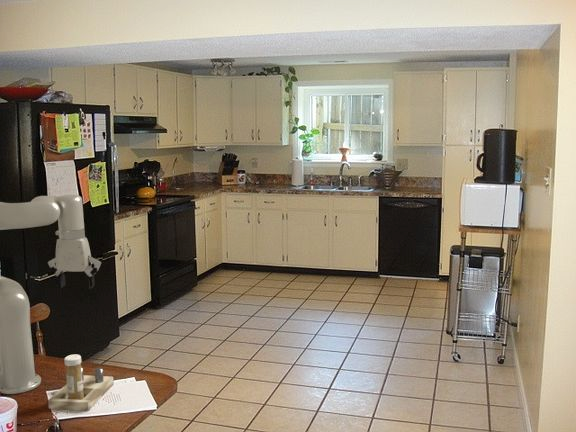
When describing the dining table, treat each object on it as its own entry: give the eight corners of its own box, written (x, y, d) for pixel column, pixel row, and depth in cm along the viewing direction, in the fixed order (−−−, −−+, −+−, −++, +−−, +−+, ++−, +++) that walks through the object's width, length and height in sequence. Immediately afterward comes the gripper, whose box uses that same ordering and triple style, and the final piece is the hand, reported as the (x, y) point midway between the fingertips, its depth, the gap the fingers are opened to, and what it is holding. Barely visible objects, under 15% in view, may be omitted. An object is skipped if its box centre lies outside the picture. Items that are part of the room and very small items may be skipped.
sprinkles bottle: (86, 401, 180) (82, 357, 178) (70, 405, 177) (66, 361, 175) (82, 395, 184) (78, 352, 181) (66, 399, 181) (62, 356, 179)
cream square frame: (48, 408, 176) (46, 387, 175) (77, 382, 193) (75, 362, 192) (88, 410, 175) (86, 389, 174) (113, 384, 191) (112, 364, 190)
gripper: (39, 236, 191) (44, 290, 194) (92, 237, 188) (96, 291, 191) (52, 231, 198) (56, 283, 201) (103, 232, 196) (107, 284, 199)
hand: (76, 287), depth 196 cm, fingers open, 9 cm apart
